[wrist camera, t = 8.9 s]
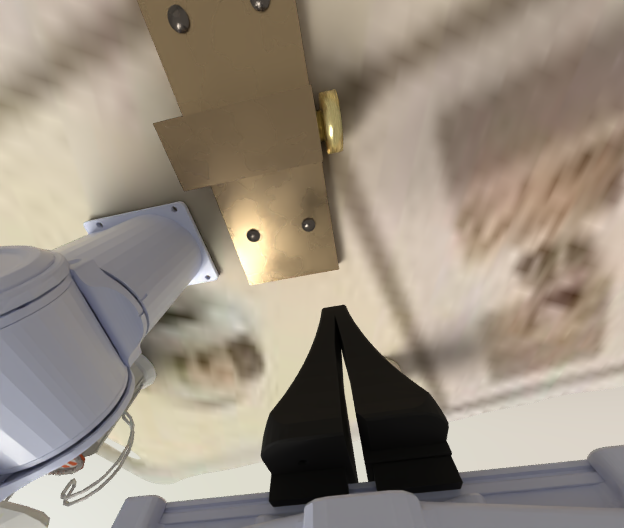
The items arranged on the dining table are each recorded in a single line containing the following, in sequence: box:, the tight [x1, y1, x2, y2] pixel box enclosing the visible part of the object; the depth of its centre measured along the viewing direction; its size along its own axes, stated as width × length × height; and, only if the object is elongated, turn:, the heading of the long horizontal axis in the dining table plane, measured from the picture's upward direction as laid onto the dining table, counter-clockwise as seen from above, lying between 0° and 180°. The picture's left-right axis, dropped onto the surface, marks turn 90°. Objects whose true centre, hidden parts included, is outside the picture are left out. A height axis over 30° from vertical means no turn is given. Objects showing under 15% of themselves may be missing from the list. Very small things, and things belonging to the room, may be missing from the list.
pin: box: [316, 89, 343, 154], centre depth 16 cm, size 10×4×4 cm, turn 101°
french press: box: [0, 354, 156, 528], centre depth 19 cm, size 10×12×25 cm
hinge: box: [137, 0, 339, 285], centre depth 16 cm, size 10×24×4 cm, turn 11°
